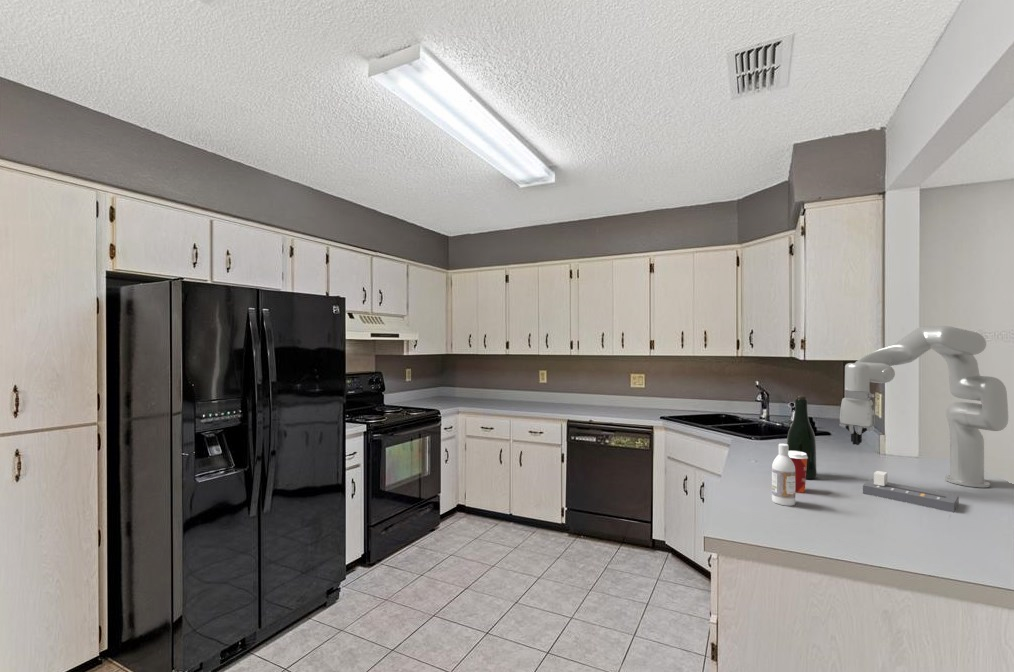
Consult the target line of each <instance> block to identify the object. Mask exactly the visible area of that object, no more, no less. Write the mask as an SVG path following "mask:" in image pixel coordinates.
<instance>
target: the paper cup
mask: <svg viewBox="0 0 1014 672" xmlns="http://www.w3.org/2000/svg"><path fill="white" fill-rule="evenodd" d="M788 455H789V457H790V458H791V460H792V461H793V463H794V466H795V494H796V493H798V494H801V493H802V494H803V493H805V490H806V480H807V479H806V468H807V458H808V457H807V454H806V453H804V452H799V451H788Z"/></svg>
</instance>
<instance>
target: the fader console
mask: <svg viewBox="0 0 1014 672" xmlns="http://www.w3.org/2000/svg"><path fill="white" fill-rule="evenodd" d="M862 494H864V495H867V496H873V497H877V496H878V498H882V497H883V498H882V499H887V498H888V500H892V499H893V500H892V501H897V502H901V501H902V503H906V502H907V504H910V505H911V504H913V505H917V506H921V505H922V506H921V507H925V506H926V508H931V509H936V510H941V511H945V512H949V513H950V512H951V513H955V512H956V509H957V508H958V506H959V504H960V501H959V500H960V499H959V498H960V497H959V494H954V493H949V492H944V491H938V490H933V489H926V488H922V487H918V486H917V487H916V486H911V485H906V484H900V483H895V482H889V481H887V484H886V485H885V486H881V485H876V484H874V478H870V479H869V480H868V481H866V482H865V483H864V484H862Z"/></svg>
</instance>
